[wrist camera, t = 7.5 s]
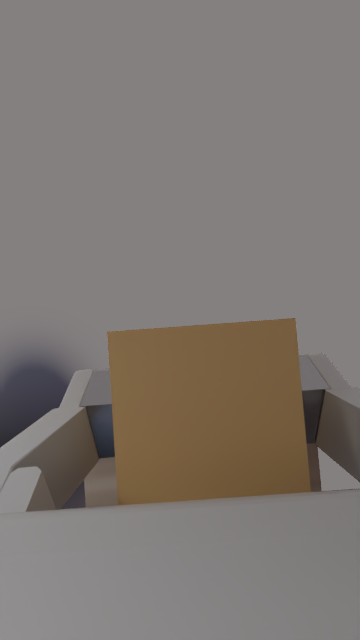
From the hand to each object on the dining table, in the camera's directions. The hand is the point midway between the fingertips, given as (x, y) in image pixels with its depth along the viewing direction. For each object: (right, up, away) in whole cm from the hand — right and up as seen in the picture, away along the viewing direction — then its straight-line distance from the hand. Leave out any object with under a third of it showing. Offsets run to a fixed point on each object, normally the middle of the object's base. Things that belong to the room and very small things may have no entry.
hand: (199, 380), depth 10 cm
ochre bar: (0, -3, +8) cm, 9 cm away
